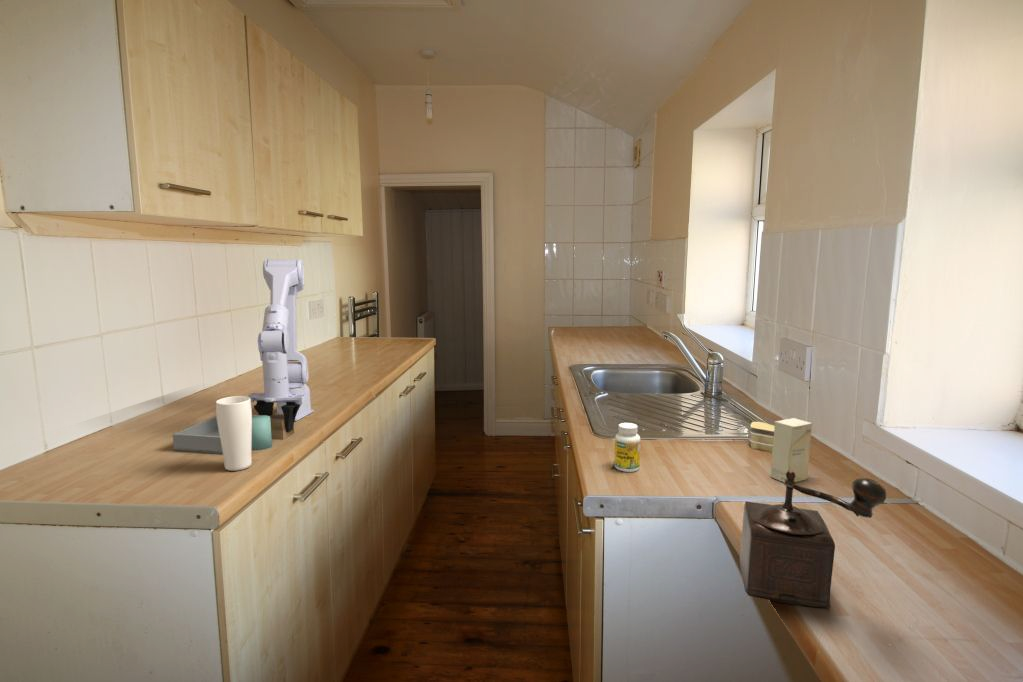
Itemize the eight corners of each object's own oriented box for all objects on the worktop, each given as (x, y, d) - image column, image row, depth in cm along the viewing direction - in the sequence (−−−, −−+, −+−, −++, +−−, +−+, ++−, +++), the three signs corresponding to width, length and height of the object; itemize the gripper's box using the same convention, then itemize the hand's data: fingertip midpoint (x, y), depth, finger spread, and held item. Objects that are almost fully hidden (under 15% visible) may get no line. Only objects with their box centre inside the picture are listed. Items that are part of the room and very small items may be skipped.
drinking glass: (262, 461, 122) (257, 396, 120) (244, 474, 116) (239, 404, 113) (233, 460, 123) (227, 395, 121) (213, 472, 116) (207, 403, 114)
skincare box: (788, 485, 111) (793, 427, 109) (768, 477, 115) (773, 421, 113) (808, 479, 114) (813, 422, 112) (788, 471, 118) (793, 417, 116)
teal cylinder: (257, 442, 135) (255, 414, 134) (276, 443, 134) (274, 415, 133) (244, 449, 130) (242, 421, 129) (264, 450, 129) (262, 422, 128)
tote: (223, 427, 146) (222, 413, 145) (269, 430, 144) (268, 415, 143) (174, 450, 129) (172, 434, 128) (225, 454, 127) (223, 437, 126)
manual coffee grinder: (745, 599, 75) (755, 473, 72) (738, 556, 85) (746, 445, 82) (877, 621, 70) (893, 488, 67) (852, 574, 81) (865, 456, 78)
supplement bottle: (641, 465, 121) (643, 423, 120) (636, 474, 116) (638, 430, 115) (617, 461, 123) (618, 420, 122) (611, 470, 119) (613, 427, 117)
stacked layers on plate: (791, 449, 133) (793, 427, 132) (777, 458, 126) (779, 435, 126) (749, 439, 140) (751, 418, 139) (734, 447, 133) (735, 425, 133)
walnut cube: (276, 431, 143) (275, 413, 142) (294, 433, 142) (293, 414, 141) (264, 438, 138) (263, 418, 137) (283, 439, 137) (282, 420, 136)
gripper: (239, 380, 135) (243, 433, 137) (294, 382, 132) (297, 436, 134) (256, 373, 141) (260, 424, 144) (309, 376, 139) (312, 427, 141)
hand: (279, 430), depth 140 cm, fingers closed on walnut cube, 5 cm apart
